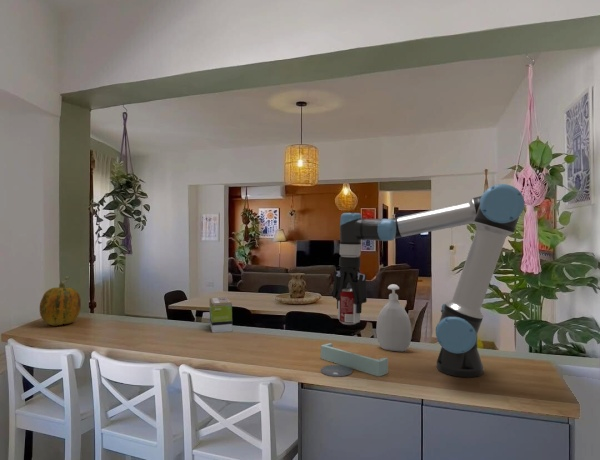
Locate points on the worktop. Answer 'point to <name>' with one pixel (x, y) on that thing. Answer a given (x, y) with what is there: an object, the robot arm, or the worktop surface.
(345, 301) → the soda can
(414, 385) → the worktop surface
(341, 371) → the coaster
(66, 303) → the pumpkin
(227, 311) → the tea box
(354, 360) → the divider
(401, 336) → the soap bottle
